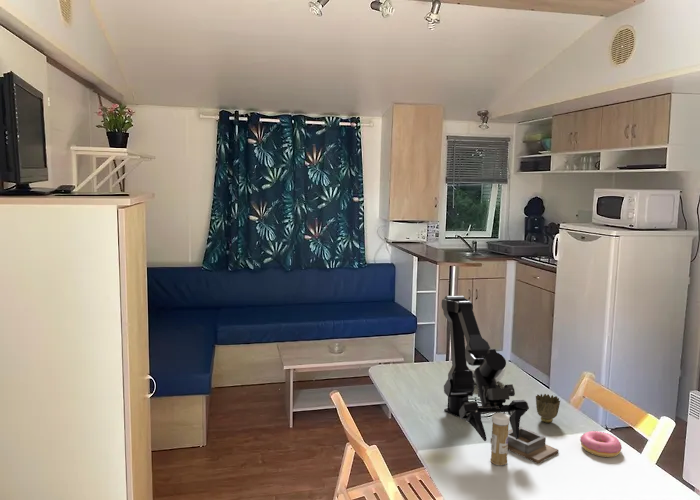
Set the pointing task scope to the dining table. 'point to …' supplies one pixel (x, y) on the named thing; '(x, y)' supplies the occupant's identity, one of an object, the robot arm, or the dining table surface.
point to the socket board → (530, 445)
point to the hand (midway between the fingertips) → (501, 439)
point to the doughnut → (601, 444)
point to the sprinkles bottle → (499, 438)
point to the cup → (547, 407)
